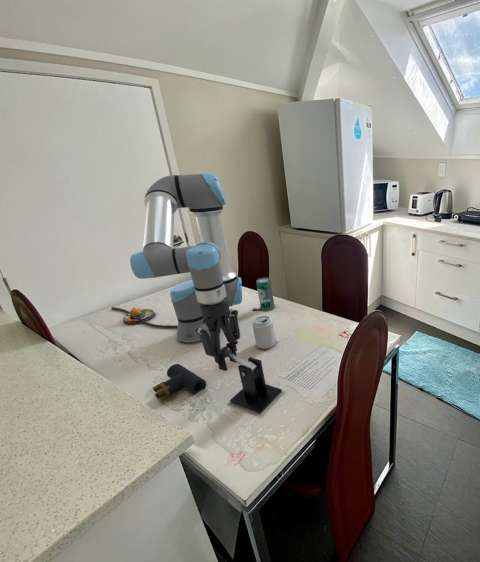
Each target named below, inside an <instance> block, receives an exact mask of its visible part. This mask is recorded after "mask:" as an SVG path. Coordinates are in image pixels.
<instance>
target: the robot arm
mask: <svg viewBox="0 0 480 562" xmlns="http://www.w3.org/2000/svg"><path fill="white" fill-rule="evenodd" d="M143 204H144V207H145V209H146V214H145V215H146V216H145V223H144V224H145V225H144V233H143V234H144V235H143V241H142V251H139V252H134V253H132V254H131V255H130V257H129V258H130V259H129V264H130V269H131V271H132V273H133V275H134V276H135V278H137V279H140V280H144V279H156V278H163V277H168V276H174V275H180V274H188V273H190V276H191V279H188V280H185V281H182V282H180V283H177V284H176V285H174V286H173V287H172V288H171V289H170V291H169V296H170V302H171V303H172V306H173V309H174V313H175V315H176V319H177V325H170V324H169V325H166V324H165V325H164V324H155V323H151V322H148V321H143V320H141V321H140V322H141V323H142V324H145V325H147V326H151V327H155V328H163V329H165V328H166V329H171V328H172V329H173V328H174V329H175V328H176V329H177V331H176V337H177V340H178V342H181V343H182V344H195V343H200V342H201V343H202V347H203V349H204V352H205V355H206V356H209V357H212V358H213V360H214V362H215V363H216V364H217V366H218V368H219V370H220V371H223V372H227V371H228V366H227V361H226V358H225V357H224V353H223V352H221V335H220V334H221V332H223V334H224V337H225V339H226V341H227V343H226V344H225V346H228V347H230V348H231V350H232V354H234V355H235V356H237V357H238V355H237V351H238V348H237V345H238V344H239V341H238V340H240V339H241V332H240V326H239V320H238V317H239V316H238V314H239V310H237V309H233V308H230V307H233V306H236V305H240V304H241V303H242V302H243V287H242V285H243V284H242V277H239V276H238V275H237V273H236V272H235V271H233V269H232V264H231V261H230V260H231V259H230V255H229V250H228V247H227V241H226V237H225V236H226V235H225V232H224V227H223V222H222V217H221V213H222V212H223V211H224V206H226V204H227V201H226V198H225V195H224V192H223V189H222V187H221V184H220V181H219V178H218V177H217V175H215V174H213V173H195V174H193V173H191V174H169V175H166V176H163V177H161V178H159V179H157V180H156V181H155V182H153V183H152V185H150V186H149V188H148V189H147V190H146V192H145V194H144V201H143ZM182 208H183V209H184V208H186V209H187V208H188V210H189V213H190V214H192V215H193V216H194V217H195V220H196V224H197V229H198V232H199V237H200V242H198V243H197V244H195V245H192V246H184V247H183V246H182V247H175V248H174V237H175V236H174V235H175V233H174V231H175V230H174V229H175V213H176V212H177V211H178V209H182ZM110 309H111V310H114V311H115V310H116V311H120V312H123V313H126V314H130V311H129V310H126V309H124V308H121V307H120V308H119V307H114V306H111V307H110ZM137 320H140V318H137ZM228 359H229V362H232V363H235V364H238V363H237V362H235V361H234V360H232V359H231V358H229V357H228Z"/></svg>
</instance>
